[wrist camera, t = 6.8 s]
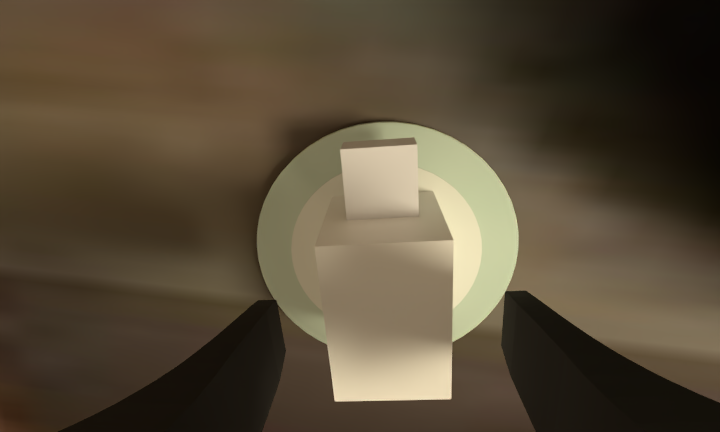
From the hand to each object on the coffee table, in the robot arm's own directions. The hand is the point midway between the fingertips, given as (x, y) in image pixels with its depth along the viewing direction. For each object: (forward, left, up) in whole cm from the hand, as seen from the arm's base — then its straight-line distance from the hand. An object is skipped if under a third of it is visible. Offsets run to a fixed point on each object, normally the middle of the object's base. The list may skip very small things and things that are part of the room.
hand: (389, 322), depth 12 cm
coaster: (0, 0, -5) cm, 5 cm away
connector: (0, -1, -4) cm, 5 cm away
